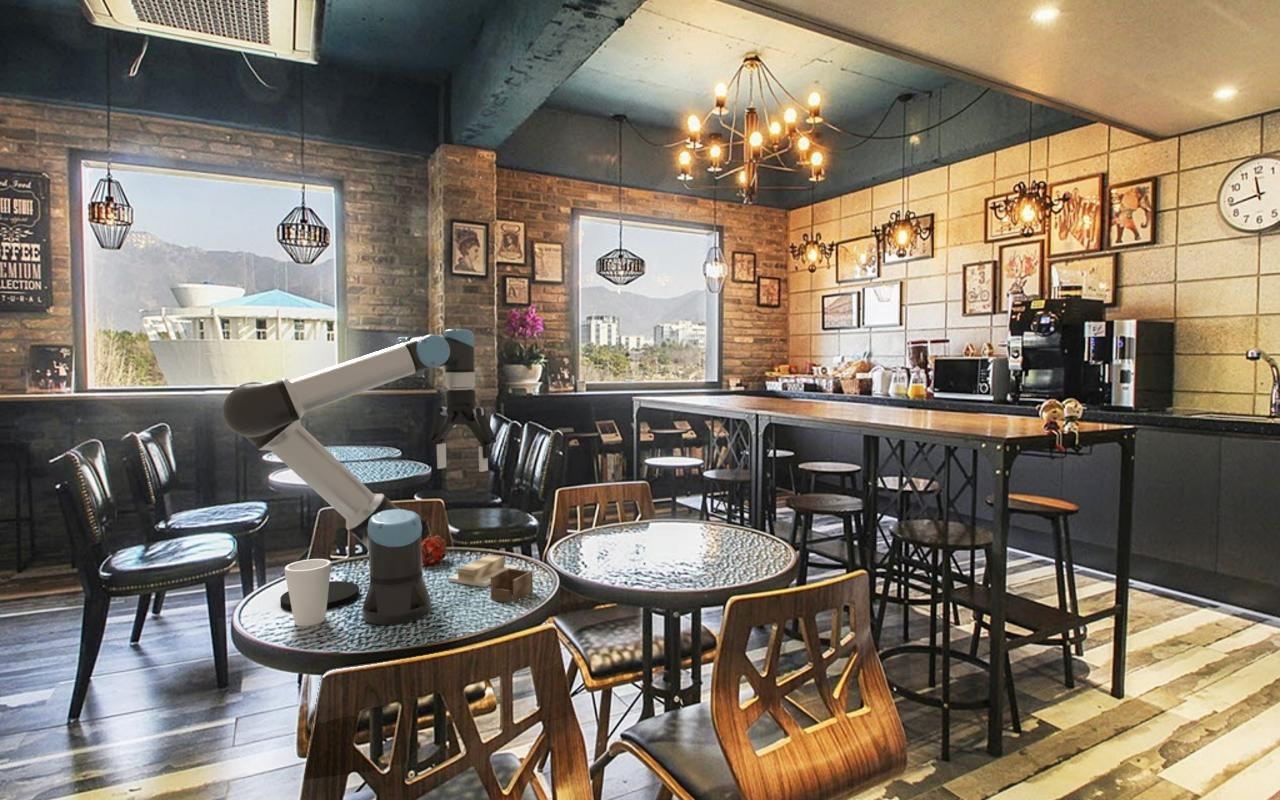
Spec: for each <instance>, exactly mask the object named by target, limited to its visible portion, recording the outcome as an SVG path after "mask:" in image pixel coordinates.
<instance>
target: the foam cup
mask: <svg viewBox="0 0 1280 800" xmlns="http://www.w3.org/2000/svg"><path fill="white" fill-rule="evenodd" d="M331 573H332V562H331V560H329V559H325V558H312V559H302V560H299V561H294V562H292V563H289V564H287V565H286V566H285V567H284V579H285V580H286V585H287V592H288V591H289V597H290V602H291V607H292V612H291V613H292V616H293V617H292V618H293V621H294V625H295V626H298V627H309V626H315V625H318V624H320V623H323V622H325V619H326V616H327V610H326V609H327V600H328V590H329V581H330V580H331V579H330V578H331Z"/></svg>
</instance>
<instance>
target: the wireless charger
mask: <svg viewBox="0 0 1280 800" xmlns="http://www.w3.org/2000/svg"><path fill="white" fill-rule="evenodd" d="M359 596H360V586H359V585H358V584H356V583H355V582H351V581H342V580H341V581H339V580H333V581H332V580H331V581H329V590H328V600H327V609H326V611H327V610H328V611H329V610H332V609H336V608H340V607H343V606H346V605H348V604H350V603H353V602H354V601H356V600H357V599H358V598H359ZM279 599H280V608H281V609H282V610H284V611H287V612H291V613H292V607H291V602H290V597H289V591H288V590H287V591H286V592H284V593H283V594H282V595H281V596H280V598H279Z"/></svg>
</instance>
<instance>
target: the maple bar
mask: <svg viewBox="0 0 1280 800" xmlns="http://www.w3.org/2000/svg"><path fill="white" fill-rule="evenodd" d="M504 564H505V556H503V555H496V554H495V555H494V554H488V555H486V556H485V555H484V557H481V558H478V559H476V560H474V561H472V562H470V563H467V564H466V565H463V566H461V567H459V568H458V569H457V574H458V580H464V581H471V582H475V581H477V580H479V579H481V578H483V577H485V576H487V575H489V574H491V573H493V572H495V571H497V570H499V569H501V568H503V567H504Z"/></svg>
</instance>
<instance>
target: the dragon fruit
mask: <svg viewBox="0 0 1280 800" xmlns="http://www.w3.org/2000/svg"><path fill="white" fill-rule="evenodd" d="M448 552H449V550H448V549H447V540H446V539H445V538H441V536H440V535H434V536H432V535H427V537H426V538H424V539H422V564H423V565H424V566H426V567H427V566H430V565H432V564H435V563H438V564H439V563H441V562H442V561H443V560H444V559H445V558H446V557H447V554H448Z"/></svg>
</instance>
